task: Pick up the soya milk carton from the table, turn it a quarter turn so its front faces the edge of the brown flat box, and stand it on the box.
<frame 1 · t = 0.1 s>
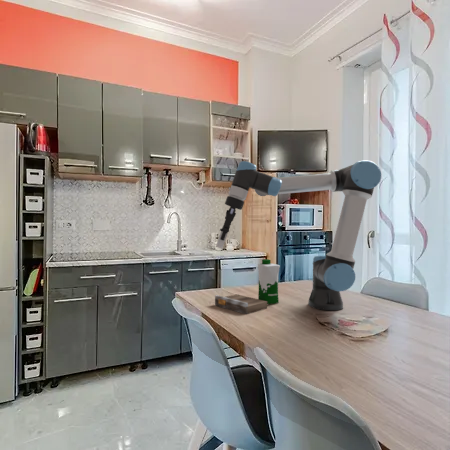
hand: (219, 246, 137), 28 cm above the table, tool tilted 20°, fingers open, 13 cm apart
soya milk: (268, 302, 156), on the table
brown flat box: (240, 306, 147), on the table
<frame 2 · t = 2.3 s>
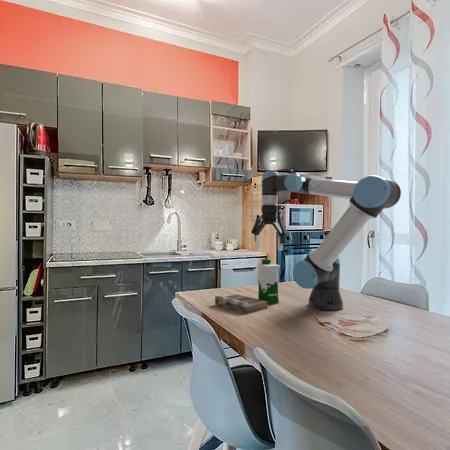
hand: (268, 249, 156), 25 cm above the table, tool pointing down, fingers open, 13 cm apart
nothing on the table moved.
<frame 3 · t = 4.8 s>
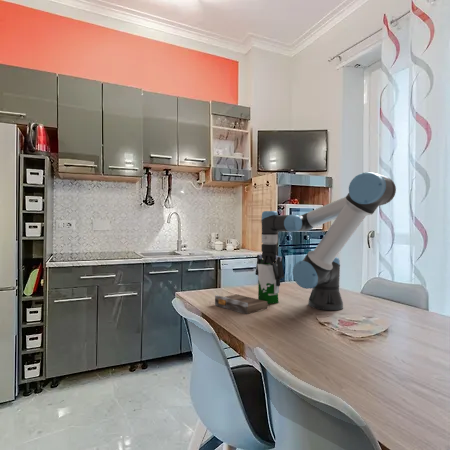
hand: (269, 291, 156), 5 cm above the table, tool pointing down, fingers open, 8 cm apart
soya milk: (268, 302, 156), on the table, touching gripper
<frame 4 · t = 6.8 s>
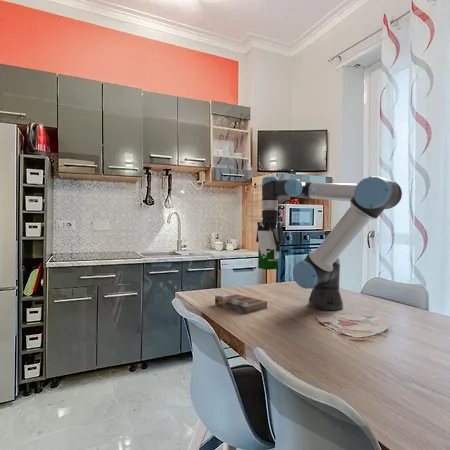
hand: (269, 257, 156), 21 cm above the table, tool pointing down
soya milk: (268, 268, 156), point 16 cm above the table, touching gripper, hand
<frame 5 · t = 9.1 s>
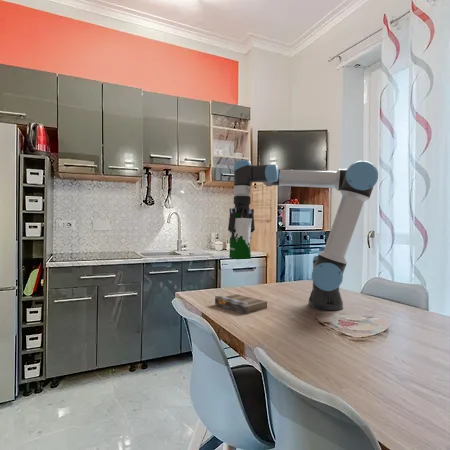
hand: (241, 246, 147), 27 cm above the table, tool pointing down
soya milk: (240, 258, 147), point 22 cm above the table, touching gripper, hand
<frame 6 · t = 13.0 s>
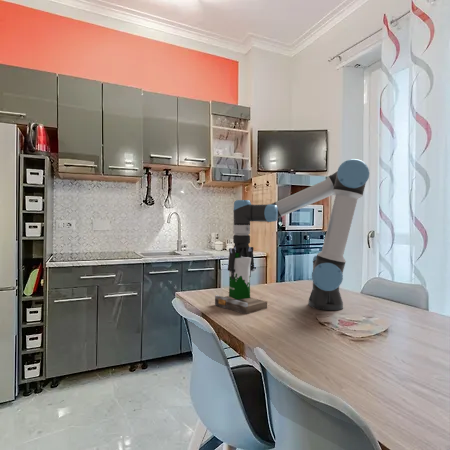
hand: (241, 285, 147), 10 cm above the table, tool pointing down, fingers closed on soya milk, 7 cm apart
soya milk: (239, 297, 147), point 4 cm above the table, touching gripper, hand
when the fingers open (10 cm above the table, at t = 13.1 s): soya milk drops 1 cm, resting on brown flat box.
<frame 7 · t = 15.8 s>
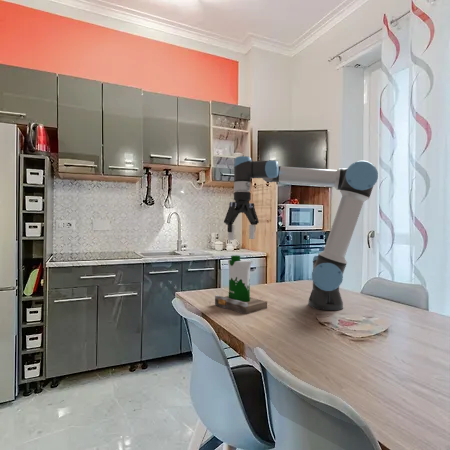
hand: (241, 239, 147), 30 cm above the table, tool pointing down, fingers open, 13 cm apart
soya milk: (239, 300, 147), point 3 cm above the table, touching brown flat box
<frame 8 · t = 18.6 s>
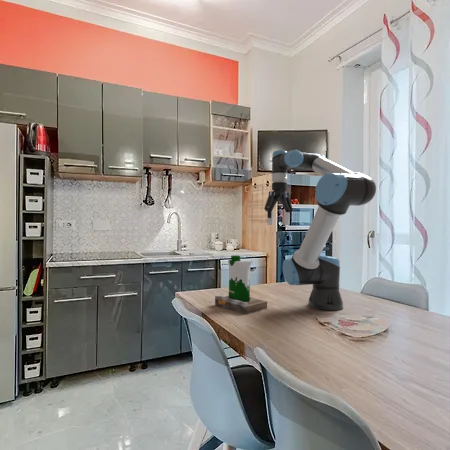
hand: (278, 225, 164), 37 cm above the table, tool pointing down, fingers open, 13 cm apart
nothing on the table moved.
at the end: soya milk inside the target area on the brown flat box (1.6 cm from its centre), point 2.8 cm above the brown flat box's base; soya milk tilted 0°; the gripper is holding nothing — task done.
